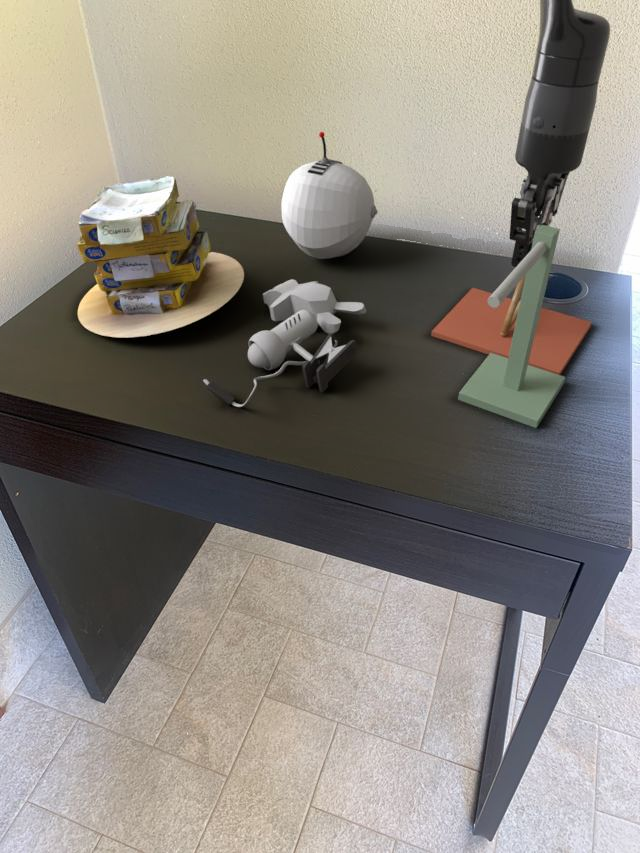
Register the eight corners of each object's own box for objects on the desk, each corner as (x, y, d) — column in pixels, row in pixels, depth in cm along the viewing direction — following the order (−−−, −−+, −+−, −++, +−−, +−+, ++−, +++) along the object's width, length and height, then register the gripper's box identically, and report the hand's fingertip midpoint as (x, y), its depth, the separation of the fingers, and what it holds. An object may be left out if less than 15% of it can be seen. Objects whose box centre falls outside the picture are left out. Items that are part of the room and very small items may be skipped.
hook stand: (563, 384, 86) (609, 223, 72) (507, 474, 74) (549, 303, 60) (489, 359, 90) (518, 202, 76) (424, 441, 79) (445, 273, 64)
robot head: (392, 247, 115) (400, 123, 102) (352, 285, 106) (355, 153, 92) (308, 226, 121) (306, 107, 108) (264, 260, 112) (255, 134, 99)
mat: (590, 326, 96) (592, 322, 96) (558, 377, 87) (559, 372, 87) (471, 292, 104) (472, 287, 103) (431, 335, 95) (431, 331, 94)
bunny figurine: (292, 266, 102) (371, 288, 93) (296, 297, 105) (373, 321, 96) (246, 291, 97) (326, 316, 88) (252, 323, 100) (330, 351, 91)
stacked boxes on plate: (45, 335, 96) (8, 222, 85) (126, 254, 114) (104, 152, 103) (209, 359, 91) (193, 243, 80) (266, 271, 109) (260, 166, 98)
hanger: (539, 270, 98) (546, 207, 89) (545, 272, 98) (553, 209, 89) (499, 337, 93) (501, 277, 84) (505, 339, 93) (508, 279, 84)
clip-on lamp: (256, 446, 82) (364, 364, 88) (245, 415, 77) (360, 329, 83) (200, 394, 88) (305, 320, 94) (187, 362, 83) (298, 285, 89)
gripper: (568, 147, 71) (535, 291, 82) (607, 109, 80) (572, 244, 91) (500, 133, 74) (477, 275, 86) (544, 99, 83) (518, 231, 94)
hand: (526, 258), depth 88 cm, fingers closed on hanger, 4 cm apart
